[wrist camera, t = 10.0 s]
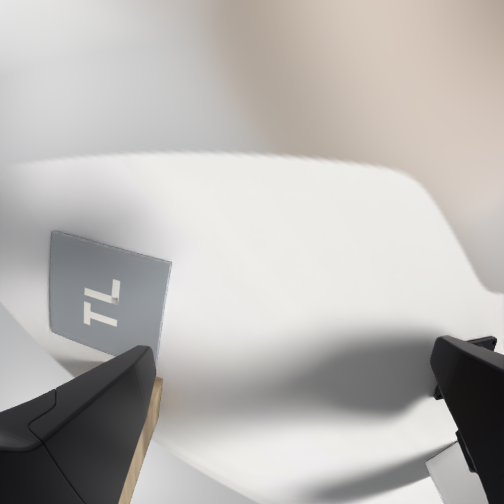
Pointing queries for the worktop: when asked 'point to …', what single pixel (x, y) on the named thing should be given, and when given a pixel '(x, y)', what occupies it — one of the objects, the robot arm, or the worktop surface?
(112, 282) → the tile
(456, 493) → the milk
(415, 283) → the worktop surface
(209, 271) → the worktop surface
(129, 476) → the oak block
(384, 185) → the worktop surface
